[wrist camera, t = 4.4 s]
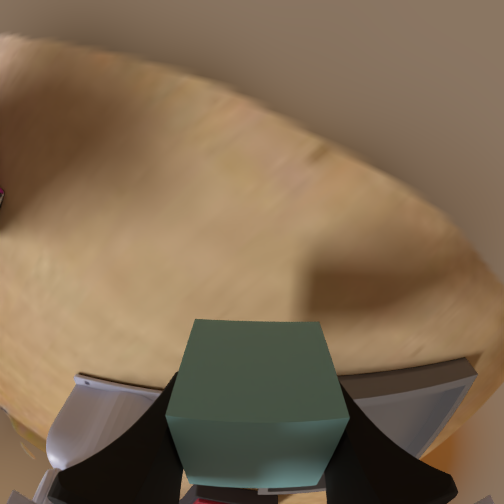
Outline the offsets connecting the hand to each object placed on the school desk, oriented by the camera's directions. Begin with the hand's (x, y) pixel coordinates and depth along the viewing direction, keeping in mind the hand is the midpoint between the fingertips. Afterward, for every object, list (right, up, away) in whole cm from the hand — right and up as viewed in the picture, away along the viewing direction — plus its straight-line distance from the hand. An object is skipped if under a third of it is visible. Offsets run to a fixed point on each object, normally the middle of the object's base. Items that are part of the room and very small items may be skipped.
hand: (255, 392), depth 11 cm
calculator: (-5, -30, +19) cm, 36 cm away
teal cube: (0, +1, +1) cm, 2 cm away
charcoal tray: (+10, -12, +11) cm, 19 cm away
